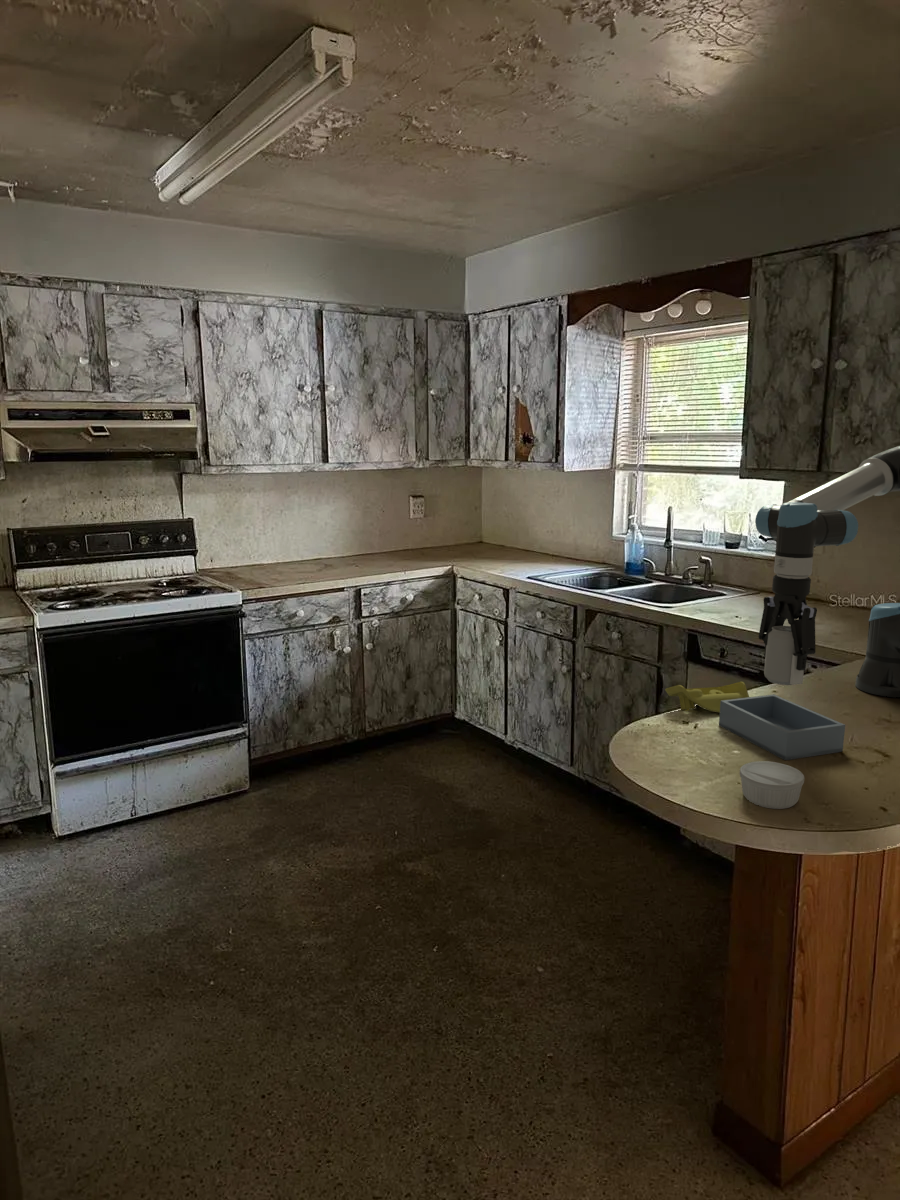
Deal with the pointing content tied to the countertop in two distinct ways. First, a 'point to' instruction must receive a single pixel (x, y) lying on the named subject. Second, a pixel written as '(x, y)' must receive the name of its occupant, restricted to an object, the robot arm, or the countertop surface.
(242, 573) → the countertop surface
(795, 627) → the robot arm
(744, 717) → the bin
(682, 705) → the plastic component
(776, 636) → the can
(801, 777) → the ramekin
